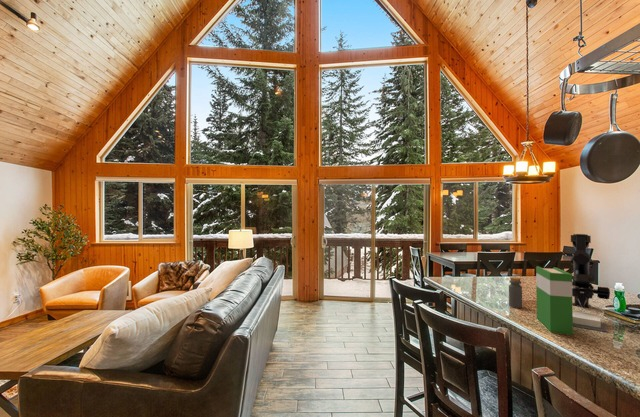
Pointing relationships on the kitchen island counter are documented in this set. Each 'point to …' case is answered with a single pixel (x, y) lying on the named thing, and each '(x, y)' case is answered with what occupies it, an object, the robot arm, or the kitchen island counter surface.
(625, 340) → the kitchen island counter surface
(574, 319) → the tile
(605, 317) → the kitchen island counter surface
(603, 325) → the mat
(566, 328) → the hardback book
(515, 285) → the bottle
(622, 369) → the kitchen island counter surface
